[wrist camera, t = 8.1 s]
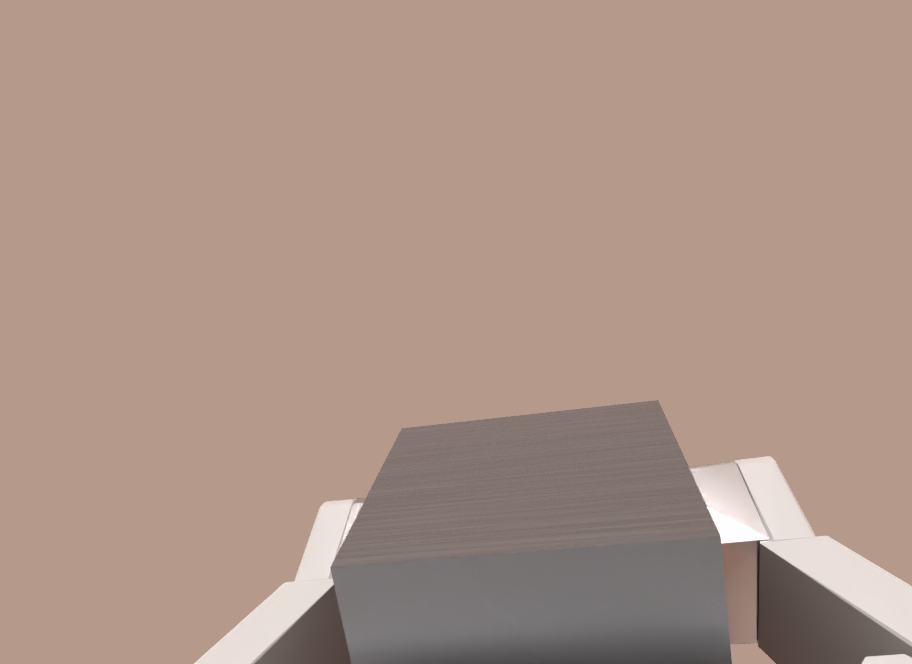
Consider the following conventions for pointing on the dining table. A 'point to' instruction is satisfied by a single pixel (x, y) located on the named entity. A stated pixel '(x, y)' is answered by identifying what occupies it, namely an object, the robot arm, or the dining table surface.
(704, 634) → the dark gray bar
